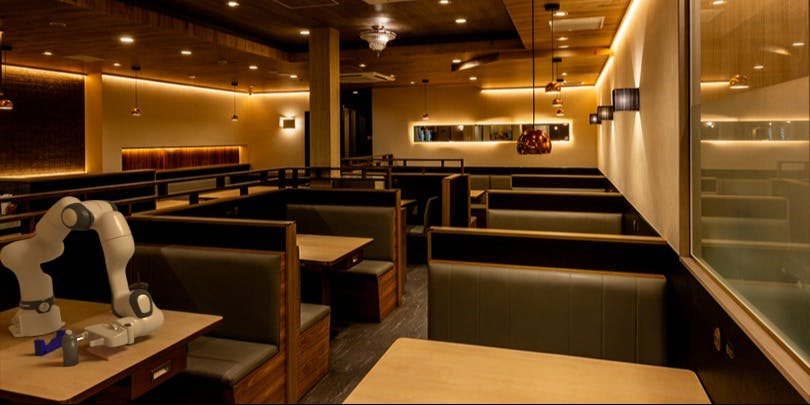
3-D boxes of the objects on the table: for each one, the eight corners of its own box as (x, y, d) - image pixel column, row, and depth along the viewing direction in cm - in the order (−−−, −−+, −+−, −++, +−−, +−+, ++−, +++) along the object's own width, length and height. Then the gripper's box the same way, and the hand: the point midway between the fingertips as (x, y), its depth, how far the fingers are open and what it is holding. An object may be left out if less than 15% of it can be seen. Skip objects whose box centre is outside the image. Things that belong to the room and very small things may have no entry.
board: (87, 351, 210) (86, 348, 210) (113, 343, 218) (113, 340, 218) (108, 360, 201) (108, 358, 201) (135, 351, 209) (135, 349, 209)
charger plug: (61, 364, 198) (58, 331, 196) (75, 360, 201) (72, 327, 200) (67, 367, 195) (64, 333, 193) (81, 363, 199) (78, 329, 197)
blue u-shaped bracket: (57, 344, 218) (56, 329, 218) (67, 344, 218) (66, 329, 217) (31, 355, 207) (30, 340, 206) (42, 356, 206) (40, 340, 205)
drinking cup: (144, 311, 258) (141, 268, 256) (153, 314, 254) (150, 270, 251) (128, 315, 252) (125, 272, 250) (137, 318, 247) (134, 274, 245)
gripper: (106, 317, 218) (68, 327, 207) (134, 327, 206) (96, 338, 195) (107, 333, 218) (70, 343, 207) (136, 343, 207) (97, 356, 195)
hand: (82, 341), depth 201 cm, fingers open, 8 cm apart
